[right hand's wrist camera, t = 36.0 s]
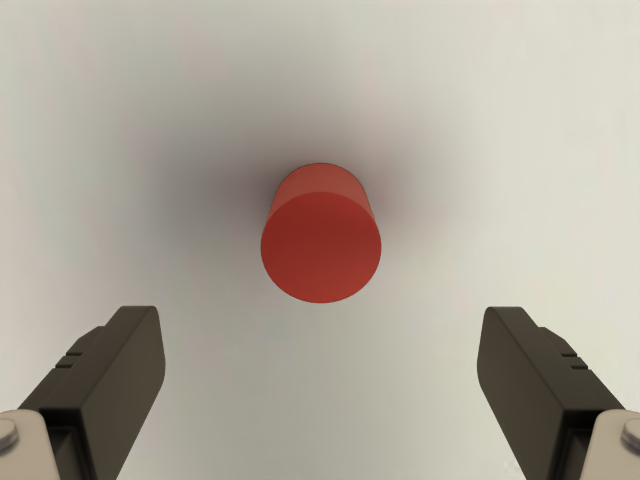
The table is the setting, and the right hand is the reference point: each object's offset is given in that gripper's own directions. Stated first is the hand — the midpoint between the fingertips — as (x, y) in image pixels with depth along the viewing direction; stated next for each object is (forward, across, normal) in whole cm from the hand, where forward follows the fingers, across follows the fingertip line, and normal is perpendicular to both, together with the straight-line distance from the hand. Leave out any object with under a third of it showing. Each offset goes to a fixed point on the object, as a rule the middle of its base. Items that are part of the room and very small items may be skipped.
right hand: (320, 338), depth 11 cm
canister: (+11, 0, 0) cm, 11 cm away
